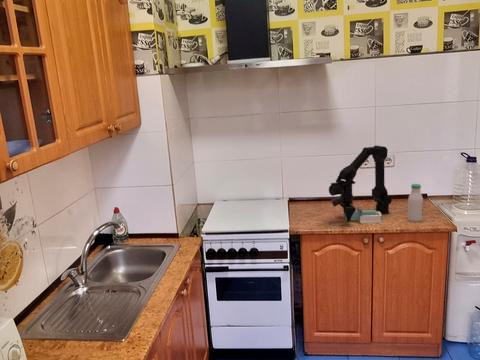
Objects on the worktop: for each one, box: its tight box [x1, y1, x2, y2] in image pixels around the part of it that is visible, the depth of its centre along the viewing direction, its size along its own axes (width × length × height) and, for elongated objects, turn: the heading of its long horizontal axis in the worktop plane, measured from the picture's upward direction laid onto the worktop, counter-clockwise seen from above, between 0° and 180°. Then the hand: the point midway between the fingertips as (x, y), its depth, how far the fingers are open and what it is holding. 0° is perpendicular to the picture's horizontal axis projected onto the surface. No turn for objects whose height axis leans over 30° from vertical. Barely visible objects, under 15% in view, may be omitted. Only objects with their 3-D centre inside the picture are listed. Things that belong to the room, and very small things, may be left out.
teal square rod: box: [345, 209, 376, 221], centre depth 235 cm, size 16×2×4 cm, turn 85°
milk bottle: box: [407, 183, 424, 223], centre depth 230 cm, size 8×8×20 cm
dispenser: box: [357, 206, 384, 224], centre depth 235 cm, size 12×8×7 cm
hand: (347, 219), depth 236 cm, fingers open, 8 cm apart
